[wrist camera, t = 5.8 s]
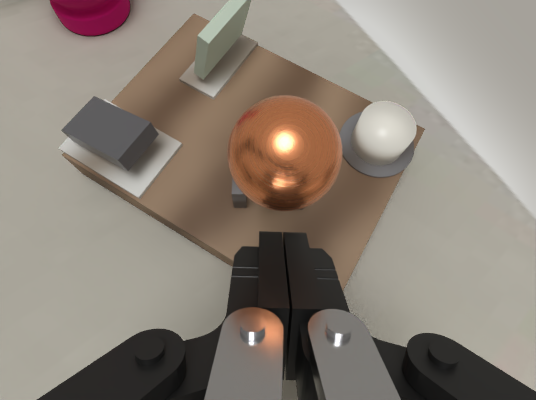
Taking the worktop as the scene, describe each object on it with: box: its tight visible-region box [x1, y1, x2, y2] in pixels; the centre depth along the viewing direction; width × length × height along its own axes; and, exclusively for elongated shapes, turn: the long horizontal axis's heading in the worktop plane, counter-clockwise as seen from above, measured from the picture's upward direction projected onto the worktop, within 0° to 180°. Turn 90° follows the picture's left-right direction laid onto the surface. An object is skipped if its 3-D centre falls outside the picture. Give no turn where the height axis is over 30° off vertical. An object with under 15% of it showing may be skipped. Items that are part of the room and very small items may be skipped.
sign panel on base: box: [194, 0, 251, 80], centre depth 23 cm, size 1×5×4 cm, turn 148°
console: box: [59, 14, 425, 290], centre depth 24 cm, size 20×15×5 cm
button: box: [351, 101, 417, 166], centre depth 23 cm, size 4×4×2 cm
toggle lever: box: [227, 95, 343, 211], centre depth 14 cm, size 3×3×14 cm
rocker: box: [61, 96, 159, 171], centre depth 21 cm, size 5×3×1 cm, turn 59°
